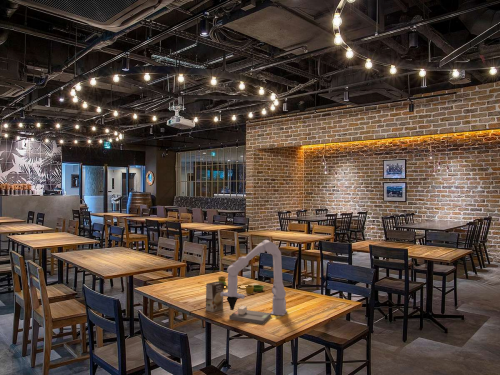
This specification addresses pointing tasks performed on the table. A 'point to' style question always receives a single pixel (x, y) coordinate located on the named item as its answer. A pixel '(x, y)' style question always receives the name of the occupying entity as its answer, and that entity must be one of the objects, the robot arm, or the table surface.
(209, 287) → the coffee box
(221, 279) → the tableware set
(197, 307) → the table surface
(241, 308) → the breaker knob
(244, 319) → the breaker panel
